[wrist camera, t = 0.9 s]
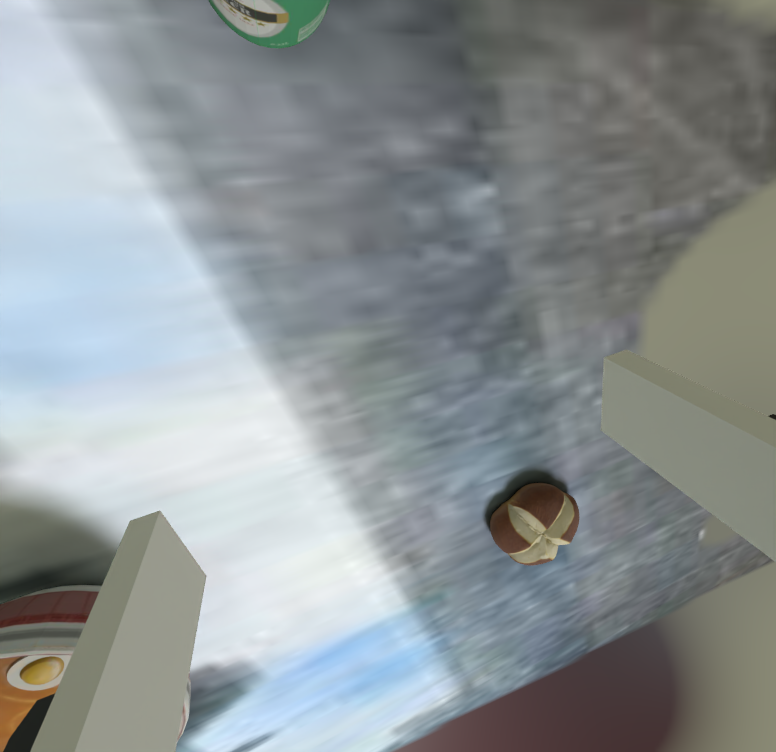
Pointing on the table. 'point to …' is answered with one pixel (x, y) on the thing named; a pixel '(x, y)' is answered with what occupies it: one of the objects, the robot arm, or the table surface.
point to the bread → (535, 523)
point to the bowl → (42, 649)
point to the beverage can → (272, 19)
